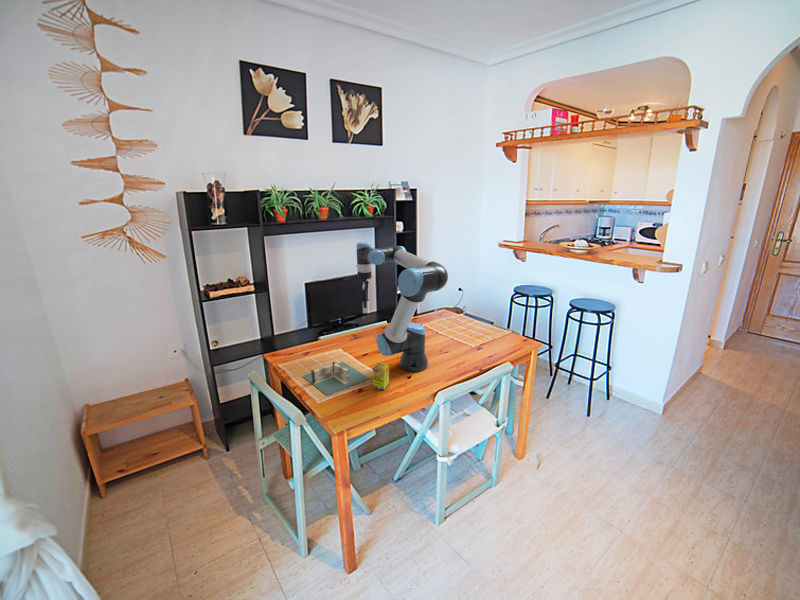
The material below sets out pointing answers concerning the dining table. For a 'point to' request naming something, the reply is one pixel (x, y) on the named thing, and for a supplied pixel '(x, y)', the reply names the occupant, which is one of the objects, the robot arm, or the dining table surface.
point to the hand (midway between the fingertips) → (365, 312)
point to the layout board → (338, 380)
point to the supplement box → (380, 376)
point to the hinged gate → (341, 372)
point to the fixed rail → (322, 374)
